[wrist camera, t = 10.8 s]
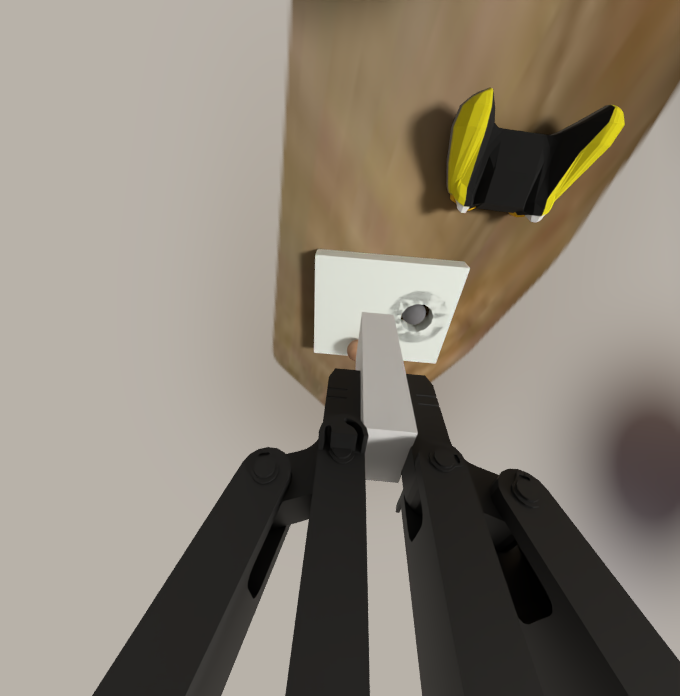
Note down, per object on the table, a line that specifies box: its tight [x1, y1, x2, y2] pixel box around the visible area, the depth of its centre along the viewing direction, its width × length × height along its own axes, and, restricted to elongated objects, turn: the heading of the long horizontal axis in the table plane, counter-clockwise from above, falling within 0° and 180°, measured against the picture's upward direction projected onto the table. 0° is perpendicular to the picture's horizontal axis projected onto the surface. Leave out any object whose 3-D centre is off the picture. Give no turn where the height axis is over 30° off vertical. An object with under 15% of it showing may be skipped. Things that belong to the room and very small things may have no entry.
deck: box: [314, 249, 470, 363], centre depth 41 cm, size 16×20×2 cm
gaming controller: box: [447, 88, 625, 222], centre depth 28 cm, size 15×6×10 cm
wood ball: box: [347, 339, 358, 361], centre depth 42 cm, size 3×3×3 cm
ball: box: [402, 304, 426, 325], centre depth 40 cm, size 3×3×3 cm
